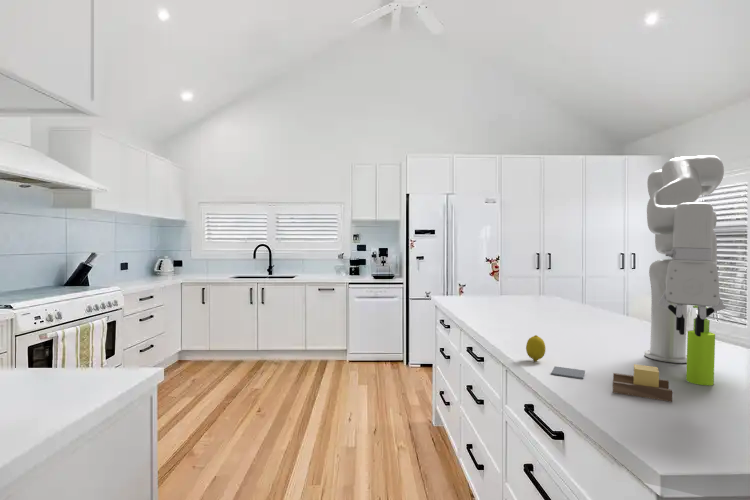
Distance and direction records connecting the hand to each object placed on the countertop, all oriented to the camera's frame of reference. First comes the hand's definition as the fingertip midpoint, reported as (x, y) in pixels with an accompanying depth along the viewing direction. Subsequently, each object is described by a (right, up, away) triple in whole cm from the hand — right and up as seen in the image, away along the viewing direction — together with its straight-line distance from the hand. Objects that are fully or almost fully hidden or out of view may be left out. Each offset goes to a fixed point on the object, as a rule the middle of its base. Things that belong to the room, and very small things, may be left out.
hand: (689, 333), depth 105 cm
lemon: (-25, -14, +32) cm, 43 cm away
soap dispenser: (+12, -15, +14) cm, 24 cm away
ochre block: (-8, -15, +4) cm, 17 cm away
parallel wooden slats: (-9, -15, +5) cm, 18 cm away
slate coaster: (-20, -14, +19) cm, 31 cm away
